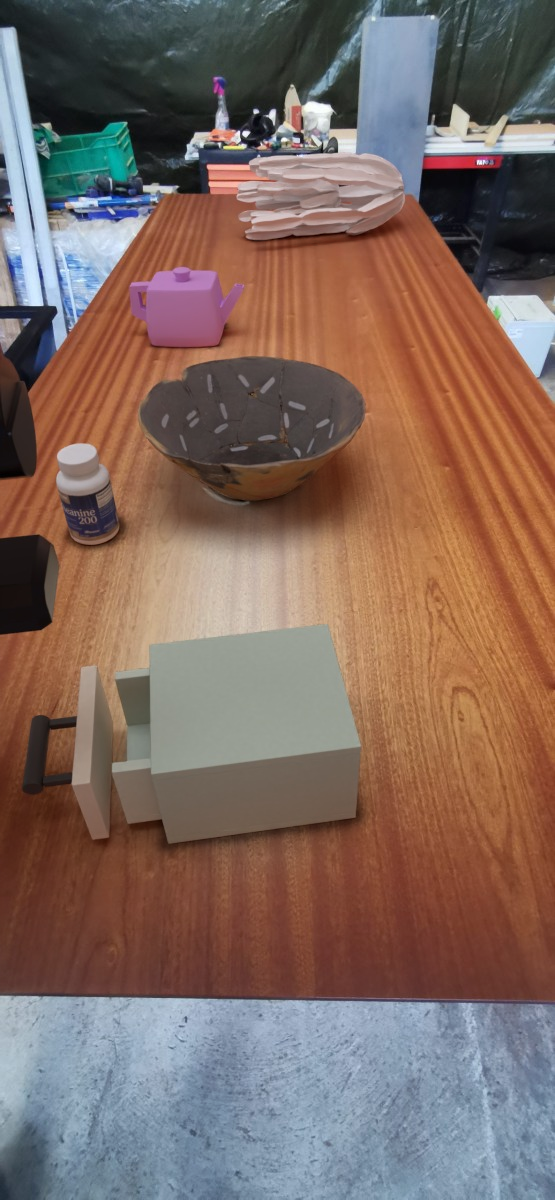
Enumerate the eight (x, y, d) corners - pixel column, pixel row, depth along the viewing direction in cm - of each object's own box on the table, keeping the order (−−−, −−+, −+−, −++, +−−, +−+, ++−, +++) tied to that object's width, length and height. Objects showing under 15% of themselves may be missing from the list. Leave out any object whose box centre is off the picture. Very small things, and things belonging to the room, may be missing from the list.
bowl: (324, 566, 75) (325, 483, 68) (110, 521, 81) (93, 441, 75) (385, 443, 92) (391, 367, 85) (205, 415, 99) (197, 342, 92)
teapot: (249, 322, 122) (246, 256, 115) (243, 349, 114) (239, 280, 107) (142, 322, 123) (132, 257, 116) (129, 348, 115) (117, 281, 108)
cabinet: (168, 844, 52) (150, 774, 47) (164, 716, 61) (149, 644, 55) (355, 818, 53) (361, 746, 48) (326, 696, 62) (328, 623, 56)
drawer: (32, 848, 51) (5, 793, 47) (46, 730, 59) (24, 673, 54) (268, 815, 53) (264, 759, 48) (252, 704, 60) (247, 646, 56)
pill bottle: (60, 540, 79) (38, 462, 73) (87, 512, 83) (69, 435, 76) (103, 551, 77) (84, 472, 71) (129, 522, 81) (114, 444, 75)
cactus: (388, 163, 160) (228, 171, 157) (414, 123, 143) (235, 131, 139) (393, 246, 163) (237, 256, 159) (420, 217, 146) (244, 227, 142)
